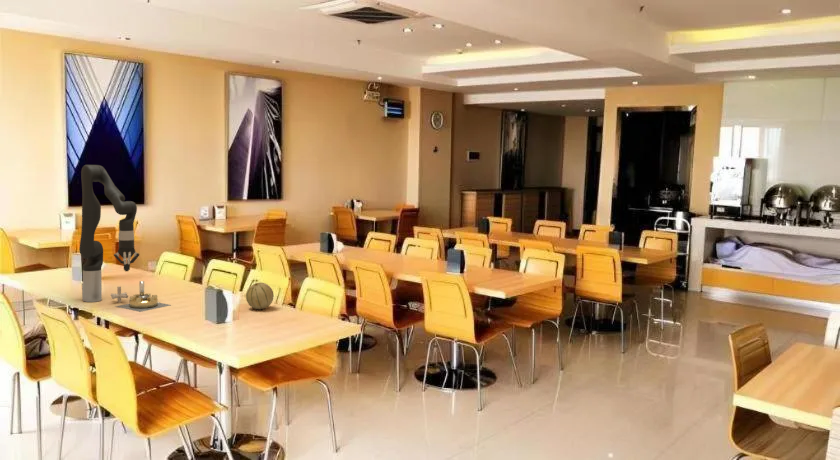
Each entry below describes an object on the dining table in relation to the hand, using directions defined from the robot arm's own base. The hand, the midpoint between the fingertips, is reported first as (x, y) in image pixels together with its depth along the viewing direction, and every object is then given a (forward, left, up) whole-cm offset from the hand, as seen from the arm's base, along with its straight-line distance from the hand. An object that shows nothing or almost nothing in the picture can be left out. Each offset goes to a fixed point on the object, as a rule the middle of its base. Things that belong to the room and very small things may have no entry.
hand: (126, 271), depth 348 cm
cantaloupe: (+56, +41, -20) cm, 72 cm away
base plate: (+8, +4, -20) cm, 22 cm away
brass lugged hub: (+8, +4, -18) cm, 21 cm away
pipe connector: (-9, +2, -20) cm, 22 cm away
